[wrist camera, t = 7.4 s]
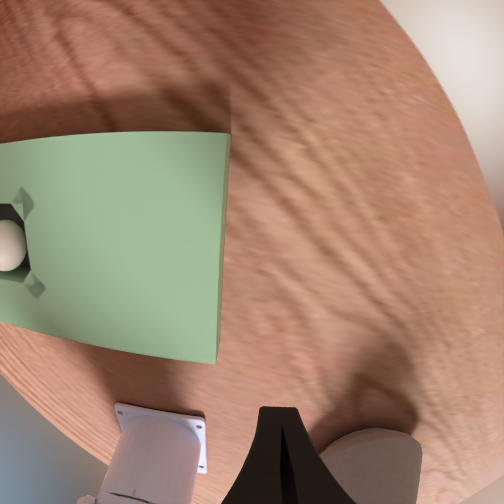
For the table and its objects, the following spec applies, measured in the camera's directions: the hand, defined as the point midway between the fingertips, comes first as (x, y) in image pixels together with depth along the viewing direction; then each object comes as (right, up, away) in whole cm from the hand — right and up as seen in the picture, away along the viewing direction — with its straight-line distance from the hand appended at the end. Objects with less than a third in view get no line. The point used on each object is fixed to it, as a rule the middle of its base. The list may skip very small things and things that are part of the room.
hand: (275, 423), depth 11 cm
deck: (-12, +7, +8) cm, 16 cm away
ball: (-18, +7, +6) cm, 20 cm away
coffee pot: (+13, -17, +16) cm, 26 cm away
